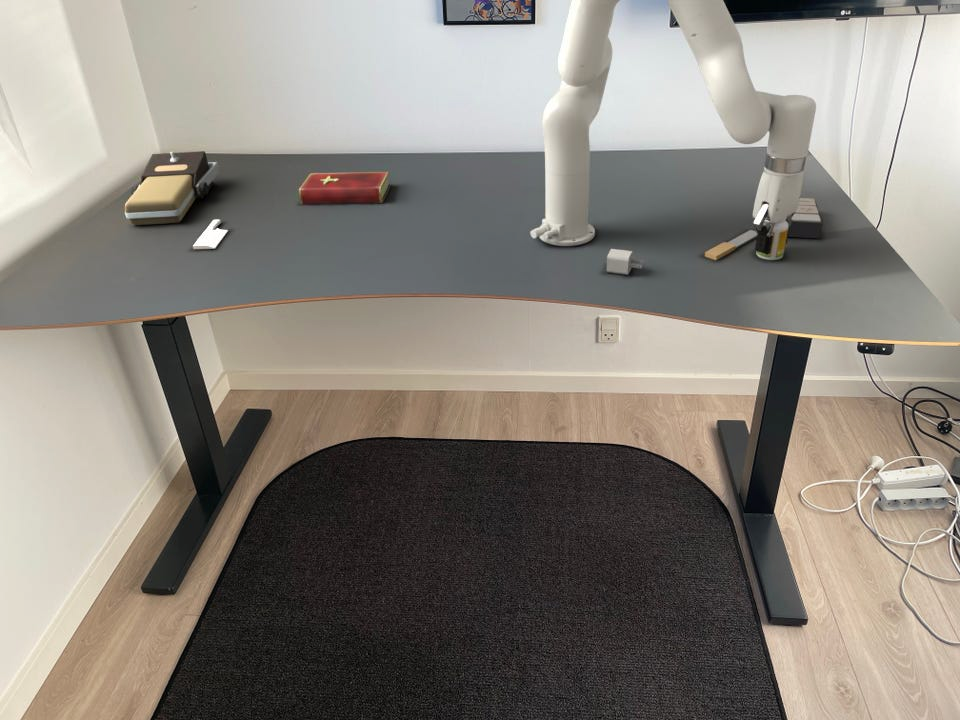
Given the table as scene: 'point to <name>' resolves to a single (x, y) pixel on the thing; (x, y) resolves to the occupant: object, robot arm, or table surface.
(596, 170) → the table surface
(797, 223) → the calculator
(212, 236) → the butcher knife
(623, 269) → the usb wall charger
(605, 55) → the robot arm
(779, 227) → the supplement bottle
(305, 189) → the hardcover book
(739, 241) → the chisel
